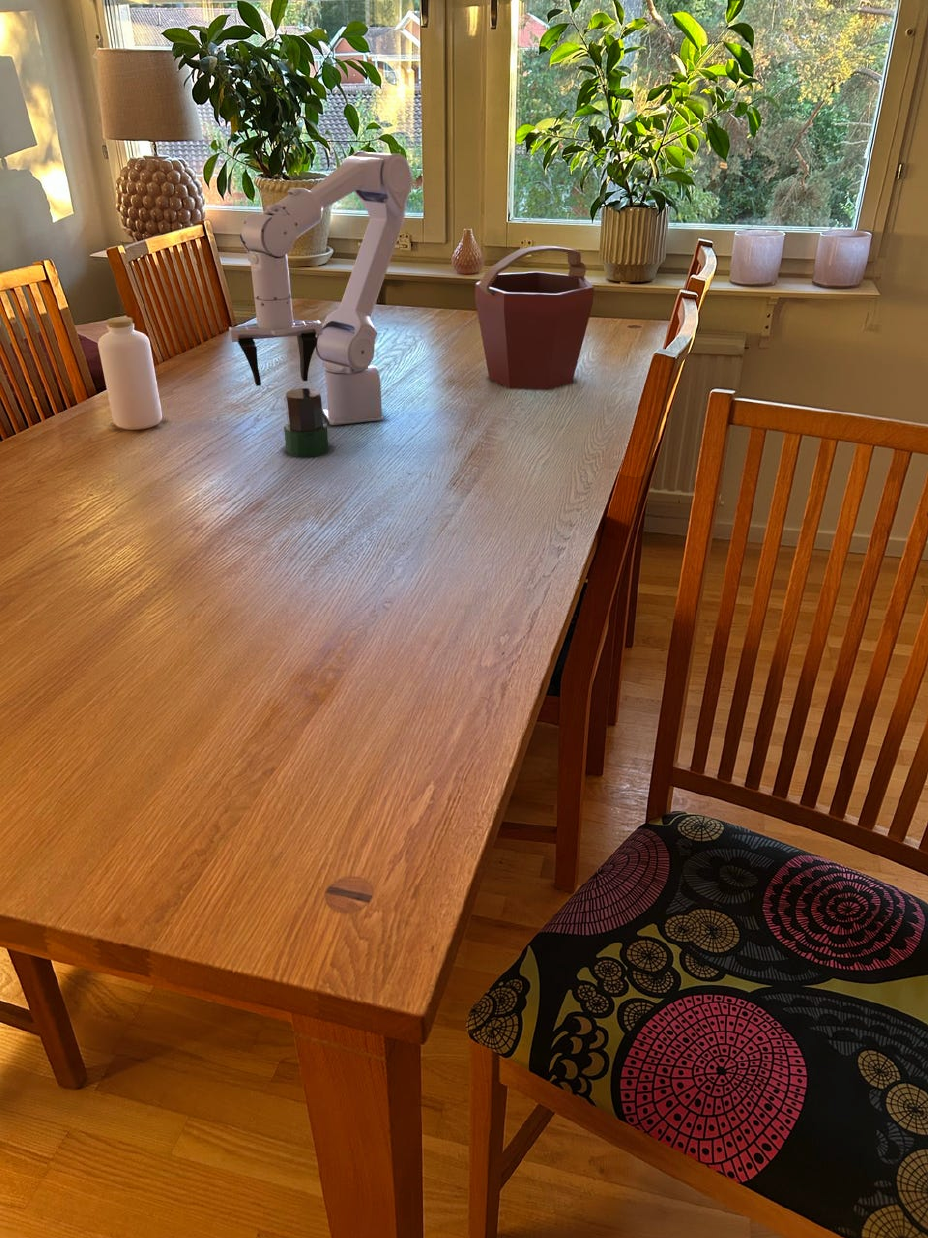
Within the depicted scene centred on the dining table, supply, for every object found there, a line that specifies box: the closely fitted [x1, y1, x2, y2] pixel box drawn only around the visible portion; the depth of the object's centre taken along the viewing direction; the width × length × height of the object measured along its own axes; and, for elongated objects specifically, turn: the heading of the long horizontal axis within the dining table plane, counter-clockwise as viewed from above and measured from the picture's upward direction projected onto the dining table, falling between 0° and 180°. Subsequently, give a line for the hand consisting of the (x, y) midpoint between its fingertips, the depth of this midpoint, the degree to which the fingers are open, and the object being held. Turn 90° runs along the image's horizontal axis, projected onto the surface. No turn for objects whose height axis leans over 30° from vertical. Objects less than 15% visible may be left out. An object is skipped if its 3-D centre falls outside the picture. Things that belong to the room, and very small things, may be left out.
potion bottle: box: [97, 316, 163, 431], centre depth 159 cm, size 8×8×18 cm
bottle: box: [283, 421, 329, 458], centre depth 151 cm, size 7×7×6 cm
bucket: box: [474, 245, 595, 391], centre depth 182 cm, size 24×22×25 cm
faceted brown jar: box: [284, 387, 324, 432], centre depth 149 cm, size 5×5×6 cm
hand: (281, 381), depth 153 cm, fingers open, 7 cm apart
